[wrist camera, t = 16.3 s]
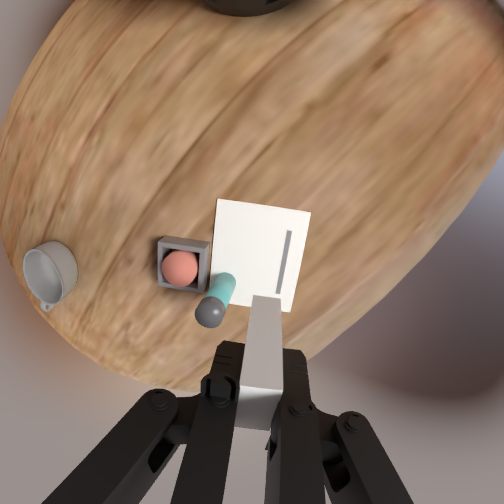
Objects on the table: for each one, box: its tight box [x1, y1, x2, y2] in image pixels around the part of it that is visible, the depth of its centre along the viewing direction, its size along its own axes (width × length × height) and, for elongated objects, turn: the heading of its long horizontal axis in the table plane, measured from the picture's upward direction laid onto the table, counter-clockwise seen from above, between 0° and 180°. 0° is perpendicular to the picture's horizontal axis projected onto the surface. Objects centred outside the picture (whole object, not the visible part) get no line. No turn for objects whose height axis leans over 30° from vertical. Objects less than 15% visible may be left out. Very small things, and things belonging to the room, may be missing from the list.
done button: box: [162, 249, 200, 287], centre depth 39 cm, size 5×5×3 cm
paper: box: [210, 199, 311, 312], centre depth 40 cm, size 16×13×1 cm
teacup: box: [23, 241, 78, 312], centre depth 40 cm, size 14×11×8 cm
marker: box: [195, 272, 236, 328], centre depth 36 cm, size 3×3×10 cm
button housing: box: [158, 236, 210, 294], centre depth 39 cm, size 7×7×3 cm
